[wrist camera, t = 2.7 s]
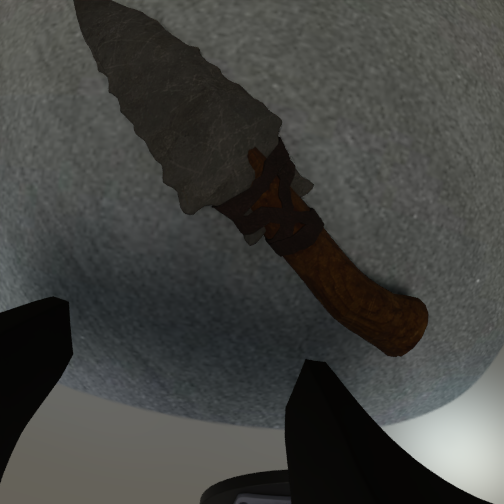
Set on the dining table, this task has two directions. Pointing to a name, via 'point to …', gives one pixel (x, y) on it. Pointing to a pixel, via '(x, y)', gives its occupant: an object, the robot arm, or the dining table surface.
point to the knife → (235, 165)
